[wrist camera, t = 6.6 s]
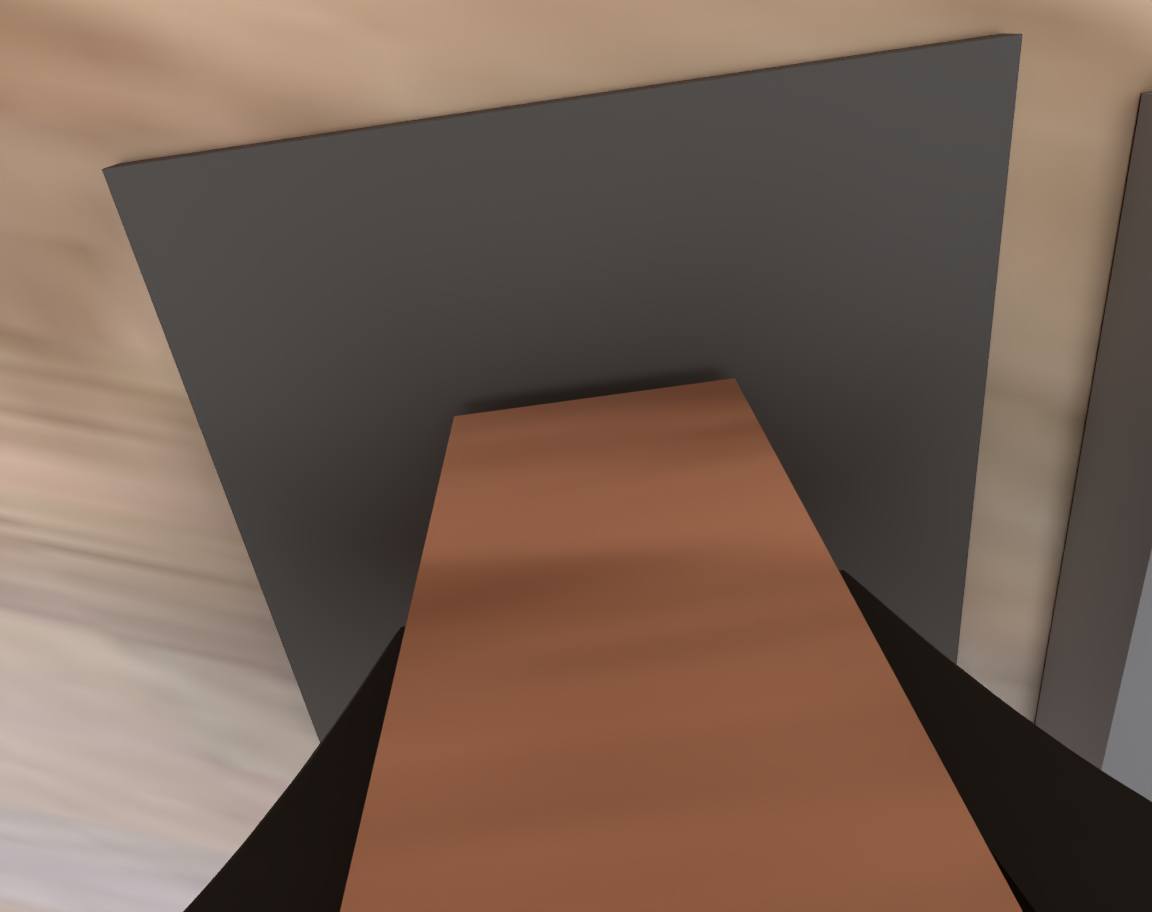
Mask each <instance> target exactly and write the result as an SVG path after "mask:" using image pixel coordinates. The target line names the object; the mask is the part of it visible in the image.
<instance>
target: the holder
mask: <svg viewBox="0 0 1152 912" xmlns="http://www.w3.org/2000/svg"><path fill="white" fill-rule="evenodd" d="M1035 725H1036V726H1038V727H1039V728H1040V729H1042V730H1043V731H1045V732H1046V733H1048V734H1049V735H1050V736H1052V737H1053V738H1055V739H1056V740H1057V741H1059V742H1060V743H1062V744H1063V745H1064V746H1066V747H1067V748H1069V749H1070V750H1072V751H1073V752H1075V753H1076V754H1077V755H1079V756H1080V757H1082V758H1084V759H1085V760H1087V761H1088V762H1090V763H1091V764H1093V765H1094V766H1096V767H1097V768H1099V769H1100V770H1102V771H1103V772H1105V773H1106V774H1108V775H1109V776H1111V777H1113V778H1114V779H1116V780H1117V781H1119V782H1121V783H1122V784H1124V785H1125V786H1127V787H1129V788H1130V789H1132V790H1134V791H1135V792H1137V793H1138V794H1140V795H1142V796H1143V797H1145V798H1146V799H1148V800H1150V801H1151V802H1152V92H1147V93H1142V96H1141V102H1140V108H1139V114H1138V120H1137V126H1136V132H1135V138H1134V144H1133V150H1132V155H1131V161H1130V167H1129V173H1128V179H1127V185H1126V191H1125V197H1124V203H1123V209H1122V215H1121V220H1120V226H1119V232H1118V238H1117V244H1116V250H1115V256H1114V262H1113V268H1112V274H1111V279H1110V285H1109V291H1108V297H1107V303H1106V309H1105V315H1104V321H1103V327H1102V333H1101V338H1100V344H1099V350H1098V356H1097V362H1096V368H1095V374H1094V380H1093V386H1092V392H1091V397H1090V403H1089V409H1088V415H1087V421H1086V427H1085V433H1084V439H1083V445H1082V451H1081V456H1080V462H1079V468H1078V474H1077V480H1076V486H1075V492H1074V498H1073V504H1072V510H1071V515H1070V521H1069V527H1068V533H1067V539H1066V545H1065V551H1064V557H1063V563H1062V569H1061V574H1060V580H1059V586H1058V592H1057V598H1056V604H1055V610H1054V616H1053V622H1052V628H1051V633H1050V639H1049V645H1048V651H1047V657H1046V663H1045V669H1044V675H1043V681H1042V687H1041V692H1040V698H1039V704H1038V710H1037V716H1036V722H1035Z"/></svg>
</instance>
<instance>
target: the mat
mask: <svg viewBox="0 0 1152 912" xmlns="http://www.w3.org/2000/svg"><path fill="white" fill-rule="evenodd" d="M1021 42H1022V34H997V35H990V36H983V37H977V38H970V39H963V40H956V41H949V42H943V43H936V44H929V45H922V46H915V47H909V48H902V49H895V50H888V51H881V52H875V53H868V54H861V55H854V56H847V57H841V58H834V59H827V60H820V61H813V62H807V63H800V64H793V65H786V66H779V67H773V68H766V69H759V70H752V71H745V72H739V73H732V74H725V75H718V76H711V77H705V78H698V79H691V80H684V81H677V82H671V83H664V84H657V85H650V86H643V87H637V88H630V89H623V90H616V91H609V92H603V93H596V94H589V95H582V96H575V97H569V98H562V99H555V100H548V101H541V102H535V103H528V104H521V105H514V106H507V107H501V108H494V109H487V110H480V111H473V112H467V113H460V114H453V115H446V116H439V117H433V118H426V119H419V120H412V121H405V122H399V123H392V124H385V125H378V126H371V127H365V128H358V129H351V130H344V131H337V132H331V133H324V134H317V135H310V136H303V137H297V138H290V139H283V140H276V141H269V142H263V143H256V144H249V145H242V146H235V147H229V148H222V149H215V150H208V151H201V152H195V153H188V154H181V155H174V156H167V157H161V158H154V159H147V160H140V161H133V162H127V163H120V164H116V165H113V166H110V167H107V168H104V169H102V171H103V174H104V176H105V179H106V181H107V184H108V187H109V189H110V192H111V195H112V197H113V200H114V202H115V205H116V208H117V210H118V213H119V216H120V218H121V221H122V223H123V226H124V229H125V231H126V234H127V237H128V239H129V242H130V244H131V247H132V250H133V252H134V255H135V258H136V260H137V263H138V265H139V268H140V271H141V273H142V276H143V279H144V281H145V284H146V286H147V289H148V292H149V294H150V297H151V300H152V302H153V305H154V307H155V310H156V313H157V315H158V318H159V321H160V323H161V326H162V328H163V331H164V334H165V336H166V339H167V342H168V344H169V347H170V349H171V352H172V355H173V357H174V360H175V363H176V365H177V368H178V371H179V373H180V376H181V378H182V381H183V384H184V386H185V389H186V392H187V394H188V397H189V399H190V402H191V405H192V407H193V410H194V413H195V415H196V418H197V420H198V423H199V426H200V428H201V431H202V434H203V436H204V439H205V441H206V444H207V447H208V449H209V452H210V455H211V457H212V460H213V462H214V465H215V468H216V470H217V473H218V476H219V478H220V481H221V483H222V486H223V489H224V491H225V494H226V497H227V499H228V502H229V504H230V507H231V510H232V512H233V515H234V518H235V520H236V523H237V525H238V528H239V531H240V533H241V536H242V539H243V541H244V544H245V546H246V549H247V552H248V554H249V557H250V560H251V562H252V565H253V567H254V570H255V573H256V575H257V578H258V581H259V583H260V586H261V588H262V591H263V594H264V596H265V599H266V602H267V604H268V607H269V610H270V612H271V615H272V617H273V620H274V623H275V625H276V628H277V631H278V633H279V636H280V638H281V641H282V644H283V646H284V649H285V652H286V654H287V657H288V659H289V662H290V665H291V667H292V670H293V673H294V675H295V678H296V680H297V683H298V686H299V688H300V691H301V694H302V696H303V699H304V701H305V704H306V707H307V709H308V712H309V715H310V717H311V720H312V722H313V725H314V728H315V730H316V733H317V736H318V738H319V741H320V743H321V742H322V740H323V739H324V737H325V736H326V735H327V733H328V732H329V730H330V729H331V728H332V726H333V725H334V723H335V722H336V721H337V719H338V718H339V717H340V715H341V714H342V712H343V711H344V709H345V708H346V706H347V705H348V703H349V702H350V700H351V699H352V698H353V696H354V695H355V693H356V692H357V690H358V689H359V687H360V686H361V684H362V683H363V681H364V680H365V678H366V677H367V675H368V674H369V672H370V671H371V669H372V668H373V666H374V665H375V663H376V662H377V660H378V659H379V657H380V656H381V654H382V653H383V651H384V650H385V648H386V647H387V645H388V644H389V642H390V641H391V639H392V638H393V636H394V635H395V634H396V633H397V631H398V630H399V629H400V628H401V627H403V626H406V623H407V619H408V614H409V610H410V606H411V601H412V597H413V593H414V588H415V584H416V580H417V575H418V571H419V567H420V562H421V558H422V554H423V549H424V545H425V541H426V536H427V532H428V528H429V523H430V519H431V515H432V510H433V506H434V502H435V497H436V493H437V489H438V484H439V480H440V476H441V471H442V467H443V463H444V458H445V454H446V450H447V445H448V441H449V437H450V432H451V428H452V424H453V419H454V416H460V415H467V414H474V413H482V412H489V411H497V410H504V409H511V408H519V407H526V406H533V405H541V404H548V403H555V402H563V401H570V400H578V399H585V398H592V397H600V396H607V395H614V394H622V393H629V392H636V391H644V390H651V389H659V388H666V387H673V386H681V385H688V384H695V383H703V382H710V381H717V380H725V379H732V378H735V380H736V381H737V383H738V385H739V387H740V389H741V391H742V393H743V394H744V396H745V398H746V400H747V402H748V404H749V406H750V407H751V409H752V411H753V413H754V415H755V417H756V419H757V420H758V422H759V424H760V426H761V428H762V430H763V432H764V433H765V435H766V437H767V439H768V441H769V443H770V444H771V446H772V448H773V450H774V452H775V454H776V456H777V457H778V459H779V461H780V463H781V465H782V467H783V469H784V470H785V472H786V474H787V476H788V478H789V480H790V482H791V483H792V485H793V487H794V489H795V491H796V493H797V494H798V496H799V498H800V500H801V502H802V504H803V506H804V507H805V509H806V511H807V513H808V515H809V517H810V519H811V520H812V522H813V524H814V526H815V528H816V530H817V532H818V533H819V535H820V537H821V539H822V541H823V543H824V545H825V546H826V548H827V550H828V552H829V554H830V556H831V557H832V559H833V561H834V563H835V565H836V567H837V569H838V570H845V571H846V572H847V573H848V574H850V575H851V576H852V577H853V578H854V579H856V580H857V581H858V582H859V583H860V584H862V585H863V586H864V587H865V588H866V589H867V590H868V591H870V592H871V593H872V594H873V595H874V596H875V597H877V598H878V599H879V600H880V601H881V602H882V603H883V604H885V605H886V606H887V607H888V608H889V609H890V610H891V611H893V612H894V613H895V614H896V615H897V616H898V617H900V618H901V619H902V620H903V621H904V622H905V623H907V624H908V625H909V626H910V627H911V628H913V629H914V630H915V631H916V632H917V633H918V634H920V635H921V636H922V637H923V638H924V639H926V640H927V641H928V642H929V643H930V644H932V645H933V646H934V647H935V648H936V649H938V650H939V651H940V652H941V653H943V654H944V655H945V656H946V657H947V658H949V659H950V660H951V661H952V662H954V663H955V664H956V663H957V654H958V644H959V634H960V625H961V615H962V606H963V596H964V587H965V577H966V568H967V558H968V548H969V539H970V529H971V520H972V510H973V501H974V491H975V482H976V472H977V463H978V453H979V443H980V434H981V424H982V415H983V405H984V396H985V386H986V377H987V367H988V357H989V348H990V338H991V329H992V319H993V310H994V300H995V291H996V281H997V271H998V262H999V252H1000V243H1001V233H1002V224H1003V214H1004V205H1005V195H1006V185H1007V176H1008V166H1009V157H1010V147H1011V138H1012V128H1013V119H1014V109H1015V99H1016V90H1017V80H1018V71H1019V61H1020V52H1021Z"/></svg>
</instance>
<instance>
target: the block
mask: <svg viewBox="0 0 1152 912" xmlns="http://www.w3.org/2000/svg"><path fill="white" fill-rule="evenodd" d="M340 912H1023V911H1022V909H1021V908H1020V906H1019V904H1018V902H1017V900H1016V898H1015V897H1014V895H1013V893H1012V891H1011V889H1010V887H1009V885H1008V884H1007V882H1006V880H1005V878H1004V876H1003V874H1002V872H1001V871H1000V869H999V867H998V865H997V863H996V861H995V859H994V858H993V856H992V854H991V852H990V850H989V848H988V846H987V845H986V843H985V841H984V839H983V837H982V835H981V834H980V832H979V830H978V828H977V826H976V824H975V822H974V821H973V819H972V817H971V815H970V813H969V811H968V809H967V808H966V806H965V804H964V802H963V800H962V798H961V796H960V795H959V793H958V791H957V789H956V787H955V785H954V783H953V782H952V780H951V778H950V776H949V774H948V772H947V771H946V769H945V767H944V765H943V763H942V761H941V759H940V758H939V756H938V754H937V752H936V750H935V748H934V746H933V745H932V743H931V741H930V739H929V737H928V735H927V733H926V732H925V730H924V728H923V726H922V724H921V722H920V721H919V719H918V717H917V715H916V713H915V711H914V709H913V708H912V706H911V704H910V702H909V700H908V698H907V696H906V695H905V693H904V691H903V689H902V687H901V685H900V683H899V682H898V680H897V678H896V676H895V674H894V672H893V670H892V669H891V667H890V665H889V663H888V661H887V659H886V658H885V656H884V654H883V652H882V650H881V648H880V646H879V645H878V643H877V641H876V639H875V637H874V635H873V633H872V632H871V630H870V628H869V626H868V624H867V622H866V620H865V619H864V617H863V615H862V613H861V611H860V609H859V607H858V606H857V604H856V602H855V600H854V598H853V596H852V595H851V593H850V591H849V589H848V587H847V585H846V583H845V582H844V580H843V578H842V576H841V574H840V572H839V570H838V569H837V567H836V565H835V563H834V561H833V559H832V557H831V556H830V554H829V552H828V550H827V548H826V546H825V545H824V543H823V541H822V539H821V537H820V535H819V533H818V532H817V530H816V528H815V526H814V524H813V522H812V520H811V519H810V517H809V515H808V513H807V511H806V509H805V507H804V506H803V504H802V502H801V500H800V498H799V496H798V494H797V493H796V491H795V489H794V487H793V485H792V483H791V482H790V480H789V478H788V476H787V474H786V472H785V470H784V469H783V467H782V465H781V463H780V461H779V459H778V457H777V456H776V454H775V452H774V450H773V448H772V446H771V444H770V443H769V441H768V439H767V437H766V435H765V433H764V432H763V430H762V428H761V426H760V424H759V422H758V420H757V419H756V417H755V415H754V413H753V411H752V409H751V407H750V406H749V404H748V402H747V400H746V398H745V396H744V394H743V393H742V391H741V389H740V387H739V385H738V383H737V381H736V380H735V378H732V379H725V380H717V381H710V382H703V383H695V384H688V385H681V386H673V387H666V388H659V389H651V390H644V391H636V392H629V393H622V394H614V395H607V396H600V397H592V398H585V399H578V400H570V401H563V402H555V403H548V404H541V405H533V406H526V407H519V408H511V409H504V410H497V411H489V412H482V413H474V414H467V415H460V416H454V419H453V424H452V428H451V432H450V437H449V441H448V445H447V450H446V454H445V458H444V463H443V467H442V471H441V476H440V480H439V484H438V489H437V493H436V497H435V502H434V506H433V510H432V515H431V519H430V523H429V528H428V532H427V536H426V541H425V545H424V549H423V554H422V558H421V562H420V567H419V571H418V575H417V580H416V584H415V588H414V593H413V597H412V601H411V606H410V610H409V614H408V619H407V623H406V627H405V632H404V636H403V640H402V645H401V649H400V653H399V658H398V662H397V666H396V671H395V675H394V679H393V684H392V688H391V692H390V697H389V701H388V705H387V710H386V714H385V718H384V723H383V727H382V732H381V736H380V740H379V745H378V749H377V753H376V758H375V762H374V766H373V771H372V775H371V779H370V784H369V788H368V792H367V797H366V801H365V805H364V810H363V814H362V818H361V823H360V827H359V831H358V836H357V840H356V844H355V849H354V853H353V857H352V862H351V866H350V870H349V875H348V879H347V883H346V888H345V892H344V896H343V901H342V905H341V909H340Z"/></svg>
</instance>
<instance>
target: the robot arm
mask: <svg viewBox="0 0 1152 912" xmlns="http://www.w3.org/2000/svg"><path fill="white" fill-rule="evenodd" d="M839 572H840V574H841V576H842V578H843V580H844V582H845V583H846V585H847V587H848V589H849V591H850V593H851V595H852V596H853V598H854V600H855V602H856V604H857V606H858V607H859V609H860V611H861V613H862V615H863V617H864V619H865V620H866V622H867V624H868V626H869V628H870V630H871V632H872V633H873V635H874V637H875V639H876V641H877V643H878V645H879V646H880V648H881V650H882V652H883V654H884V656H885V658H886V659H887V661H888V663H889V665H890V667H891V669H892V670H893V672H894V674H895V676H896V678H897V680H898V682H899V683H900V685H901V687H902V689H903V691H904V693H905V695H906V696H907V698H908V700H909V702H910V704H911V706H912V708H913V709H914V711H915V713H916V715H917V717H918V719H919V721H920V722H921V724H922V726H923V728H924V730H925V732H926V733H927V735H928V737H929V739H930V741H931V743H932V745H933V746H934V748H935V750H936V752H937V754H938V756H939V758H940V759H941V761H942V763H943V765H944V767H945V769H946V771H947V772H948V774H949V776H950V778H951V780H952V782H953V783H954V785H955V787H956V789H957V791H958V793H959V795H960V796H961V798H962V800H963V802H964V804H965V806H966V808H967V809H968V811H969V813H970V815H971V817H972V819H973V821H974V822H975V824H976V826H977V828H978V830H979V832H980V834H981V835H982V837H983V839H984V841H985V843H986V845H987V846H988V848H989V850H990V852H991V854H992V856H993V858H994V859H995V861H996V863H997V865H998V867H999V869H1000V871H1001V872H1002V874H1003V876H1004V878H1005V880H1006V882H1007V884H1008V885H1009V887H1010V889H1011V891H1012V893H1013V895H1014V897H1015V898H1016V900H1017V902H1018V904H1019V906H1020V908H1021V909H1022V911H1023V912H1152V802H1151V801H1150V800H1148V799H1146V798H1145V797H1143V796H1142V795H1140V794H1138V793H1137V792H1135V791H1134V790H1132V789H1130V788H1129V787H1127V786H1125V785H1124V784H1122V783H1121V782H1119V781H1117V780H1116V779H1114V778H1113V777H1111V776H1109V775H1108V774H1106V773H1105V772H1103V771H1102V770H1100V769H1099V768H1097V767H1096V766H1094V765H1093V764H1091V763H1090V762H1088V761H1087V760H1085V759H1084V758H1082V757H1080V756H1079V755H1077V754H1076V753H1075V752H1073V751H1072V750H1070V749H1069V748H1067V747H1066V746H1064V745H1063V744H1062V743H1060V742H1059V741H1057V740H1056V739H1055V738H1053V737H1052V736H1050V735H1049V734H1048V733H1046V732H1045V731H1043V730H1042V729H1040V728H1039V727H1038V726H1036V725H1035V724H1033V723H1032V722H1031V721H1029V720H1028V719H1026V718H1025V717H1024V716H1022V715H1021V714H1020V713H1018V712H1017V711H1016V710H1014V709H1013V708H1012V707H1010V706H1009V705H1008V704H1006V703H1005V702H1004V701H1002V700H1001V699H1000V698H998V697H997V696H996V695H994V694H993V693H992V692H990V691H989V690H988V689H987V688H985V687H984V686H983V685H982V684H980V683H979V682H978V681H977V680H975V679H974V678H973V677H971V676H970V675H969V674H968V673H966V672H965V671H964V670H963V669H961V668H960V667H959V666H958V665H956V664H955V663H954V662H952V661H951V660H950V659H949V658H947V657H946V656H945V655H944V654H943V653H941V652H940V651H939V650H938V649H936V648H935V647H934V646H933V645H932V644H930V643H929V642H928V641H927V640H926V639H924V638H923V637H922V636H921V635H920V634H918V633H917V632H916V631H915V630H914V629H913V628H911V627H910V626H909V625H908V624H907V623H905V622H904V621H903V620H902V619H901V618H900V617H898V616H897V615H896V614H895V613H894V612H893V611H891V610H890V609H889V608H888V607H887V606H886V605H885V604H883V603H882V602H881V601H880V600H879V599H878V598H877V597H875V596H874V595H873V594H872V593H871V592H870V591H868V590H867V589H866V588H865V587H864V586H863V585H862V584H860V583H859V582H858V581H857V580H856V579H854V578H853V577H852V576H851V575H850V574H848V573H847V572H846V571H845V570H839ZM405 627H406V626H403V627H401V628H400V629H399V630H398V631H397V633H396V634H395V635H394V636H393V638H392V639H391V641H390V642H389V644H388V645H387V647H386V648H385V650H384V651H383V653H382V654H381V656H380V657H379V659H378V660H377V662H376V663H375V665H374V666H373V668H372V669H371V671H370V672H369V674H368V675H367V677H366V678H365V680H364V681H363V683H362V684H361V686H360V687H359V689H358V690H357V692H356V693H355V695H354V696H353V698H352V699H351V700H350V702H349V703H348V705H347V706H346V708H345V709H344V711H343V712H342V714H341V715H340V717H339V718H338V719H337V721H336V722H335V723H334V725H333V726H332V728H331V729H330V730H329V732H328V733H327V735H326V736H325V737H324V739H323V740H322V742H321V743H320V744H319V746H318V747H317V749H316V750H315V751H314V753H313V754H312V756H311V757H310V758H309V760H308V761H307V762H306V764H305V765H304V767H303V768H302V769H301V771H300V772H299V773H298V775H297V776H296V777H295V779H294V780H293V781H292V783H291V784H290V785H289V786H288V788H287V789H286V790H285V791H284V793H283V794H282V795H281V796H280V798H279V799H278V800H277V801H276V803H275V804H274V805H273V807H272V808H271V809H270V810H269V812H268V813H267V814H266V815H265V817H264V818H263V819H262V820H261V822H260V823H259V824H258V825H257V827H256V828H255V829H254V831H253V832H252V833H251V834H250V836H249V837H248V838H247V839H246V841H245V842H244V843H243V844H242V845H241V847H240V848H239V849H238V850H237V851H236V853H235V854H234V855H233V856H232V857H231V858H230V860H229V861H228V862H227V863H226V864H225V865H224V867H223V868H222V869H221V870H220V871H219V872H218V874H217V875H216V876H215V877H214V878H213V879H212V880H211V882H210V883H209V884H208V885H207V886H206V887H205V888H204V890H203V891H202V892H201V893H200V894H199V895H198V896H197V897H196V898H195V899H194V901H193V902H192V903H191V904H190V905H189V906H188V907H187V908H186V909H185V910H184V911H183V912H340V909H341V905H342V901H343V896H344V892H345V888H346V883H347V879H348V875H349V870H350V866H351V862H352V857H353V853H354V849H355V844H356V840H357V836H358V831H359V827H360V823H361V818H362V814H363V810H364V805H365V801H366V797H367V792H368V788H369V784H370V779H371V775H372V771H373V766H374V762H375V758H376V753H377V749H378V745H379V740H380V736H381V732H382V727H383V723H384V718H385V714H386V710H387V705H388V701H389V697H390V692H391V688H392V684H393V679H394V675H395V671H396V666H397V662H398V658H399V653H400V649H401V645H402V640H403V636H404V632H405Z"/></svg>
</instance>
